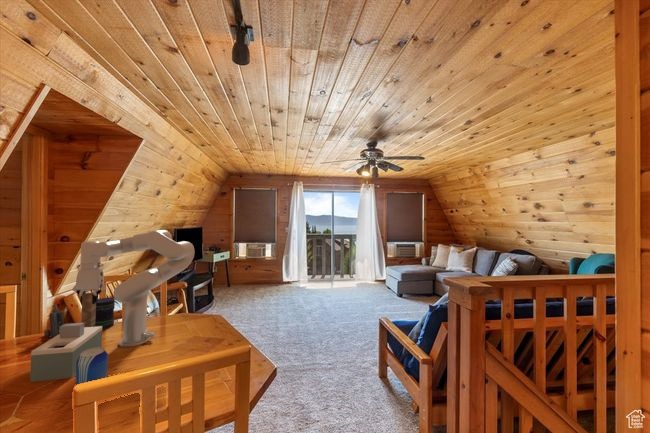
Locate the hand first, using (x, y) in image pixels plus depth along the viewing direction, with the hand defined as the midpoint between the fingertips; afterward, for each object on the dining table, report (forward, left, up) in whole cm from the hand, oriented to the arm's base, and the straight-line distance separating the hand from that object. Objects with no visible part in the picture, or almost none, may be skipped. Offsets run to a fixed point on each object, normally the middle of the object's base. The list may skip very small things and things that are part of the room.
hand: (89, 303), depth 137 cm
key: (0, 0, -11) cm, 11 cm away
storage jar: (+3, -21, -20) cm, 29 cm away
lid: (-4, +22, -9) cm, 24 cm away
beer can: (-24, +48, -20) cm, 57 cm away
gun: (+19, -9, -20) cm, 29 cm away
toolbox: (-4, +22, -19) cm, 30 cm away
